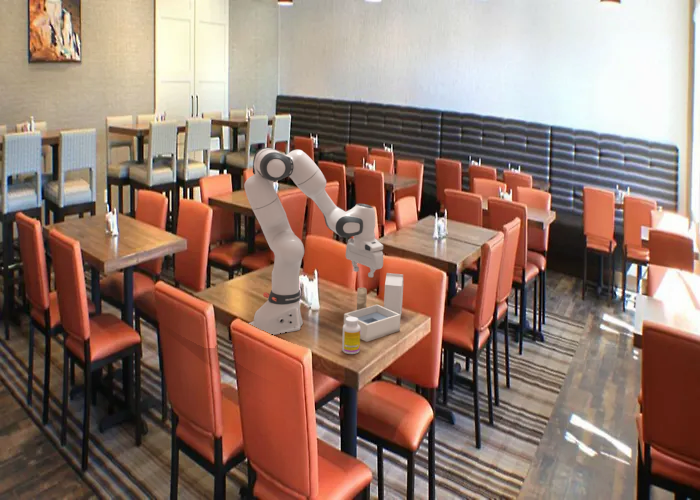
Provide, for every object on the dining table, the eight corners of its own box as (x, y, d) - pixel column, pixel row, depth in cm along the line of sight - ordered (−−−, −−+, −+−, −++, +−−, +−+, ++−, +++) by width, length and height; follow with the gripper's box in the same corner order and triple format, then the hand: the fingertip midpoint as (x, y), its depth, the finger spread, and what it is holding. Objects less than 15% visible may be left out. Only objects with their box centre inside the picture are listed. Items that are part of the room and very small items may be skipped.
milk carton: (399, 319, 249) (402, 277, 243) (383, 317, 250) (385, 275, 245) (401, 313, 255) (404, 272, 250) (385, 311, 257) (387, 270, 251)
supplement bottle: (362, 353, 216) (363, 321, 212) (345, 355, 214) (346, 323, 210) (356, 346, 222) (357, 314, 218) (339, 348, 220) (340, 316, 216)
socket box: (366, 341, 226) (367, 325, 224) (343, 329, 236) (344, 313, 234) (399, 330, 237) (400, 314, 235) (376, 319, 247) (377, 304, 245)
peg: (360, 317, 249) (361, 291, 246) (354, 315, 252) (355, 288, 248) (367, 315, 251) (368, 289, 248) (361, 313, 254) (362, 286, 251)
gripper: (342, 238, 248) (342, 269, 252) (374, 249, 233) (373, 281, 237) (353, 236, 252) (353, 266, 256) (386, 246, 237) (385, 278, 241)
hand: (363, 274), depth 246 cm, fingers open, 8 cm apart
